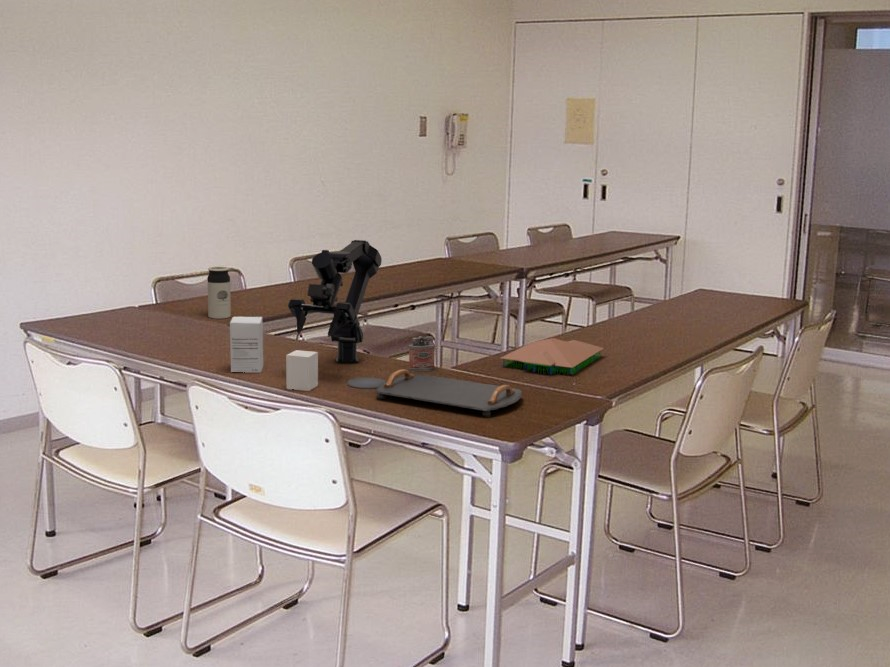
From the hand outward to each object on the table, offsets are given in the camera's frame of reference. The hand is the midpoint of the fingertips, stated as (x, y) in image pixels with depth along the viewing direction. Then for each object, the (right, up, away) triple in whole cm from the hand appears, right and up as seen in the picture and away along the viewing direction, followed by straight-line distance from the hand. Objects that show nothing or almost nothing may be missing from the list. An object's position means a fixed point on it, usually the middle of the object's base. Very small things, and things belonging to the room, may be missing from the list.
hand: (313, 334), depth 296 cm
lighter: (+30, -11, +18) cm, 37 cm away
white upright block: (-2, -15, -4) cm, 15 cm away
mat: (+15, -14, +1) cm, 20 cm away
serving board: (+38, -18, -13) cm, 44 cm away
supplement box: (-21, -10, +14) cm, 27 cm away
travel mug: (-45, +6, +89) cm, 100 cm away
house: (+70, -9, +31) cm, 77 cm away
